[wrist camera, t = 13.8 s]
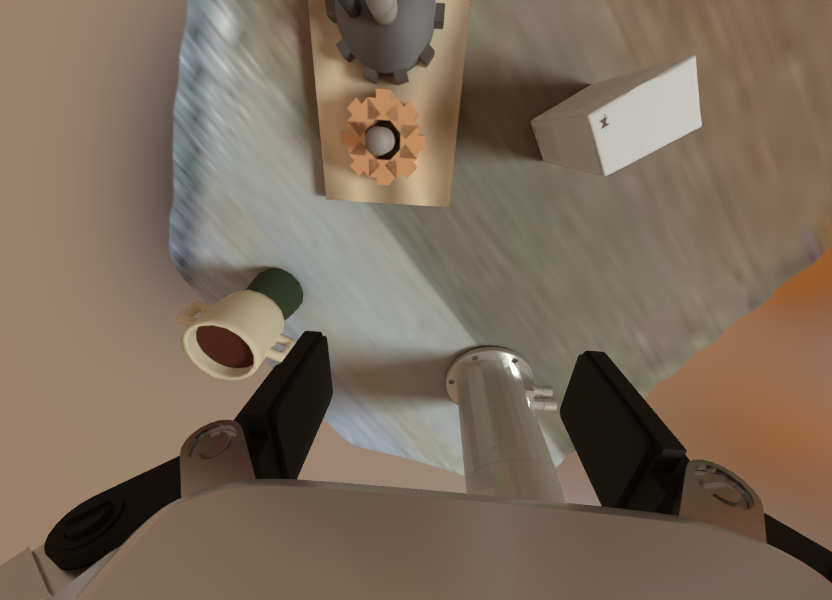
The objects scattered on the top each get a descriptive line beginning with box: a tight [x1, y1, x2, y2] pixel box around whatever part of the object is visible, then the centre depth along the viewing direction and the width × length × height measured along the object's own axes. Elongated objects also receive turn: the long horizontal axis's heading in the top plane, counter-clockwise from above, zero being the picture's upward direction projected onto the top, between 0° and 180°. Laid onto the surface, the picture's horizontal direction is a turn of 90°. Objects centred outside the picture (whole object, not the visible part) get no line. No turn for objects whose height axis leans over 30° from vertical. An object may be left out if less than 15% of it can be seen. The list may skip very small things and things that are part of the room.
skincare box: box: [530, 55, 702, 176], centre depth 23 cm, size 6×4×12 cm
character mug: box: [176, 269, 303, 381], centre depth 33 cm, size 11×7×13 cm, turn 63°
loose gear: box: [340, 89, 426, 186], centre depth 27 cm, size 7×7×4 cm
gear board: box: [308, 0, 471, 207], centre depth 24 cm, size 13×20×8 cm, turn 177°
